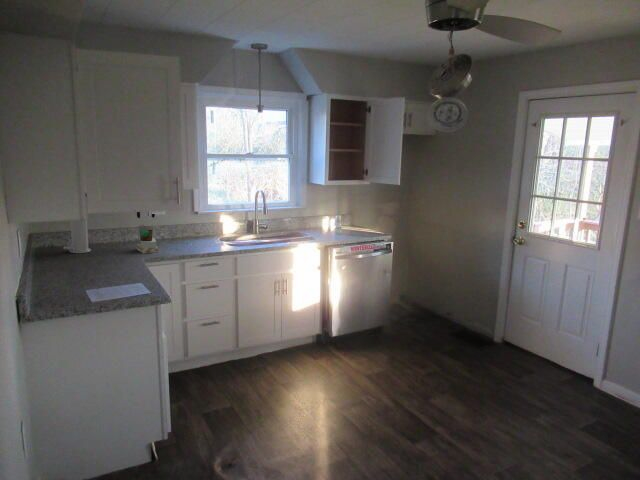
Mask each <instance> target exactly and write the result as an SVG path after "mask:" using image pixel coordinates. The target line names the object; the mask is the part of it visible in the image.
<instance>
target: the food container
mask: <svg viewBox="0 0 640 480" xmlns="http://www.w3.org/2000/svg"><path fill="white" fill-rule="evenodd" d="M138 230H139V237H140V242H141V241H152V238H153V235H154V234H153V230H154V226H149V225H144V224H143V223H142V224H139V225H138Z"/></svg>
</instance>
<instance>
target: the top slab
mask: <svg viewBox="0 0 640 480" xmlns="http://www.w3.org/2000/svg"><path fill="white" fill-rule="evenodd" d="M140 244H141V247H142V248H156V246H157V240H156V238H154V237H152V241H141V240H140Z"/></svg>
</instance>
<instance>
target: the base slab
mask: <svg viewBox="0 0 640 480" xmlns="http://www.w3.org/2000/svg"><path fill="white" fill-rule="evenodd" d="M136 250H137V251H139V252H140V253H142V254H153V253H158V252H159V247H158V246H157V245H156V248H142V247H141V243H137V244H136Z"/></svg>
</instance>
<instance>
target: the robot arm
mask: <svg viewBox="0 0 640 480" xmlns="http://www.w3.org/2000/svg"><path fill="white" fill-rule="evenodd" d="M136 217H137V219H140V218H141V211H139V212H136ZM151 217H152V218H155V217H156V213H155V214H152V213H151ZM88 230H89V229H88V219H87V220H86V221H71V220H70V231H71V232H70V233H71V244H70V245H67V246H66V245H64V246H63V250H69V253H72V254H85V253H90V252H91V251H92V249H91V248H89V235H88V234H89V233H88V232H89V231H88Z"/></svg>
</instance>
